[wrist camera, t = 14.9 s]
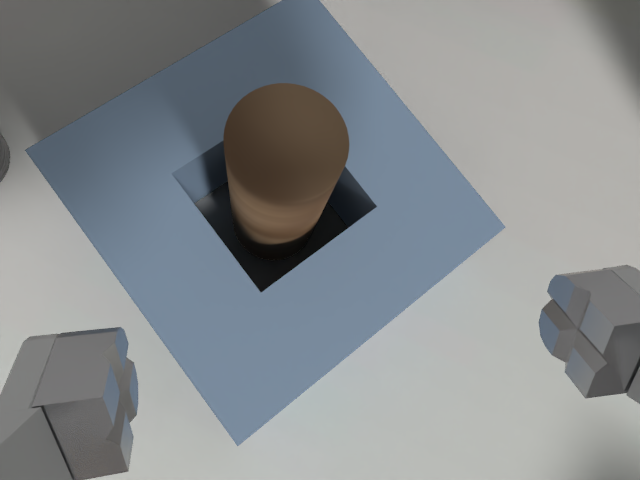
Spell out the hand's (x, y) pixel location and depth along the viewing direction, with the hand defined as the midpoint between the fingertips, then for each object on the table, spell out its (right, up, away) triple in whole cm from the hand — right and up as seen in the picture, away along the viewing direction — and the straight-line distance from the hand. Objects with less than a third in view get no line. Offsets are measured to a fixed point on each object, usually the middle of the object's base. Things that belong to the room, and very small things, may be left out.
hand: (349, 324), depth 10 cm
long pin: (-3, +3, +16) cm, 17 cm away
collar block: (-3, +3, +16) cm, 17 cm away
